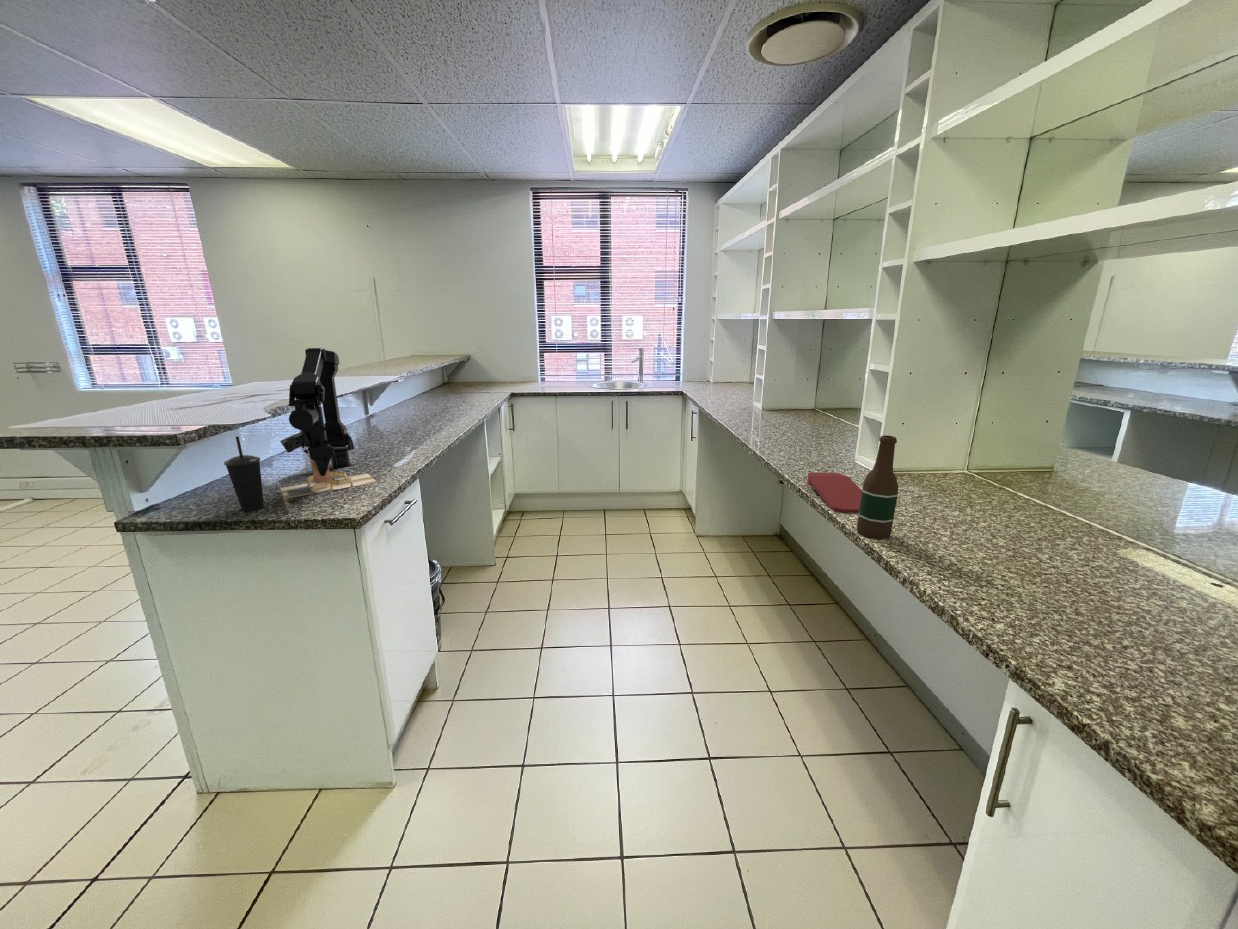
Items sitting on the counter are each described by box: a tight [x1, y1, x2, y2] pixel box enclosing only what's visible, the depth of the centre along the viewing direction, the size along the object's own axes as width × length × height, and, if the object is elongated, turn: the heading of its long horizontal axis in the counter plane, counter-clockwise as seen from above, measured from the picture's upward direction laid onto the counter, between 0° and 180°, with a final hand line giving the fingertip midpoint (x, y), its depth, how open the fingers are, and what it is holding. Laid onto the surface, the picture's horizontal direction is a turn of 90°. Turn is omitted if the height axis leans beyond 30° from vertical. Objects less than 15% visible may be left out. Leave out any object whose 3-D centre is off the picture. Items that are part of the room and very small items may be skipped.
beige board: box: [279, 472, 378, 503], centre depth 147 cm, size 12×24×1 cm, turn 130°
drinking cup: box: [223, 436, 265, 513], centre depth 127 cm, size 8×8×20 cm
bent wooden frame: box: [306, 470, 354, 495], centre depth 146 cm, size 12×11×2 cm
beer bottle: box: [856, 434, 899, 541], centre depth 113 cm, size 8×8×24 cm
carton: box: [806, 472, 862, 514], centre depth 141 cm, size 12×5×25 cm
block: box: [309, 458, 332, 483], centre depth 144 cm, size 4×4×7 cm
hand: (321, 474), depth 145 cm, fingers closed on block, 4 cm apart
